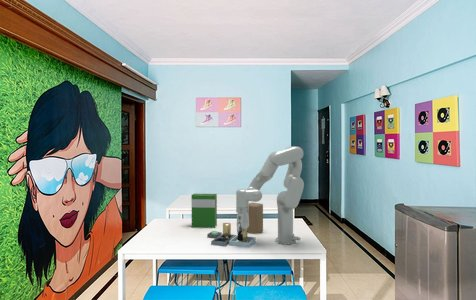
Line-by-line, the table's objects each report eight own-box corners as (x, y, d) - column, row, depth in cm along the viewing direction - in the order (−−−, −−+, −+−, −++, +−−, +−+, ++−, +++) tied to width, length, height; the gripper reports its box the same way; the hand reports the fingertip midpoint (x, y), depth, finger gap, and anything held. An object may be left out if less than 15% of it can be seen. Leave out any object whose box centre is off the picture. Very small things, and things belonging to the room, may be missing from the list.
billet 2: (247, 243, 190) (247, 227, 190) (245, 245, 186) (245, 229, 185) (240, 242, 192) (240, 226, 192) (237, 244, 187) (237, 228, 187)
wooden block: (251, 230, 222) (251, 202, 222) (263, 232, 216) (263, 203, 216) (243, 233, 214) (243, 204, 214) (256, 235, 208) (256, 205, 208)
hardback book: (216, 225, 235) (216, 193, 235) (215, 227, 228) (215, 195, 228) (193, 224, 237) (193, 193, 237) (191, 227, 230) (191, 195, 229)
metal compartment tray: (223, 238, 203) (223, 233, 203) (236, 239, 199) (236, 235, 199) (211, 246, 186) (211, 241, 186) (225, 248, 183) (225, 243, 183)
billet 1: (231, 238, 198) (231, 223, 198) (228, 241, 193) (228, 225, 193) (224, 237, 200) (224, 222, 200) (221, 240, 195) (221, 224, 195)
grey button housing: (221, 237, 205) (221, 232, 205) (217, 240, 198) (217, 235, 198) (212, 236, 207) (212, 231, 207) (207, 239, 201) (207, 234, 201)
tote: (255, 242, 192) (255, 237, 192) (248, 249, 181) (248, 243, 181) (236, 240, 197) (236, 235, 197) (229, 246, 185) (229, 240, 185)
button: (218, 235, 204) (218, 231, 204) (216, 237, 200) (216, 232, 200) (213, 235, 205) (213, 230, 205) (210, 236, 202) (210, 232, 202)
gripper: (243, 213, 179) (243, 243, 179) (252, 207, 195) (252, 235, 195) (231, 212, 182) (231, 242, 182) (241, 206, 198) (241, 234, 198)
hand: (242, 238), depth 189 cm, fingers open, 7 cm apart
